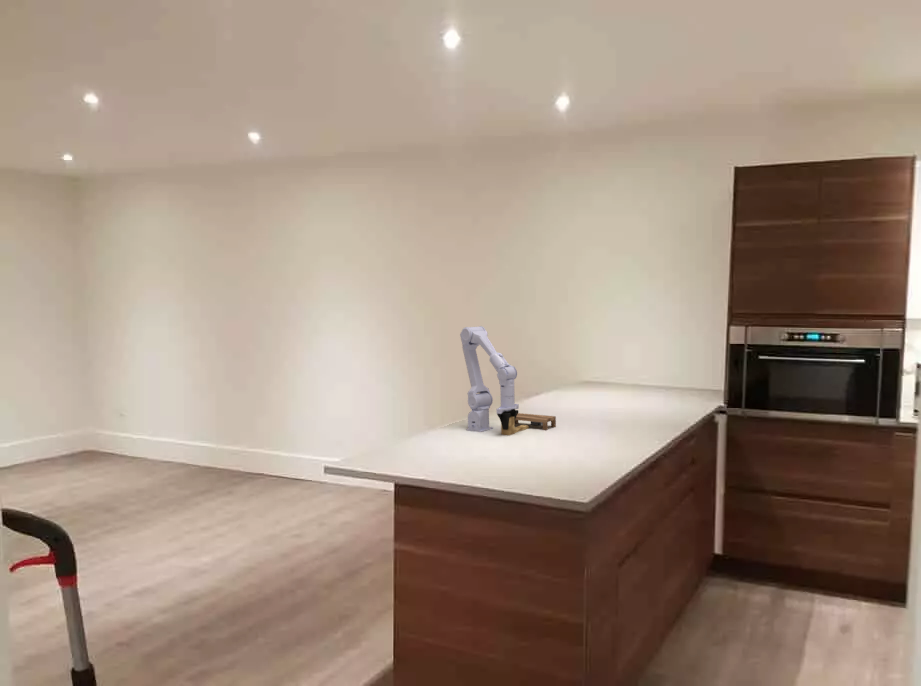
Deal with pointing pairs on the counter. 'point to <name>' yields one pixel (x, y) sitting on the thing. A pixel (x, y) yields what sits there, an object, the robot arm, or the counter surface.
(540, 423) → the plate
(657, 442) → the counter surface
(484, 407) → the robot arm
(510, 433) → the tool
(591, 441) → the counter surface
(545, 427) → the shelf
